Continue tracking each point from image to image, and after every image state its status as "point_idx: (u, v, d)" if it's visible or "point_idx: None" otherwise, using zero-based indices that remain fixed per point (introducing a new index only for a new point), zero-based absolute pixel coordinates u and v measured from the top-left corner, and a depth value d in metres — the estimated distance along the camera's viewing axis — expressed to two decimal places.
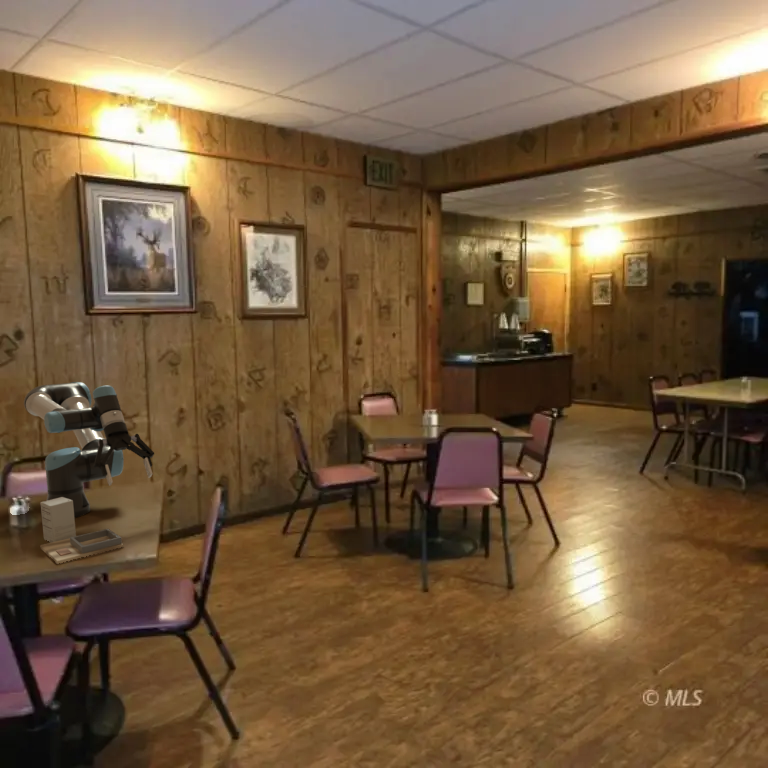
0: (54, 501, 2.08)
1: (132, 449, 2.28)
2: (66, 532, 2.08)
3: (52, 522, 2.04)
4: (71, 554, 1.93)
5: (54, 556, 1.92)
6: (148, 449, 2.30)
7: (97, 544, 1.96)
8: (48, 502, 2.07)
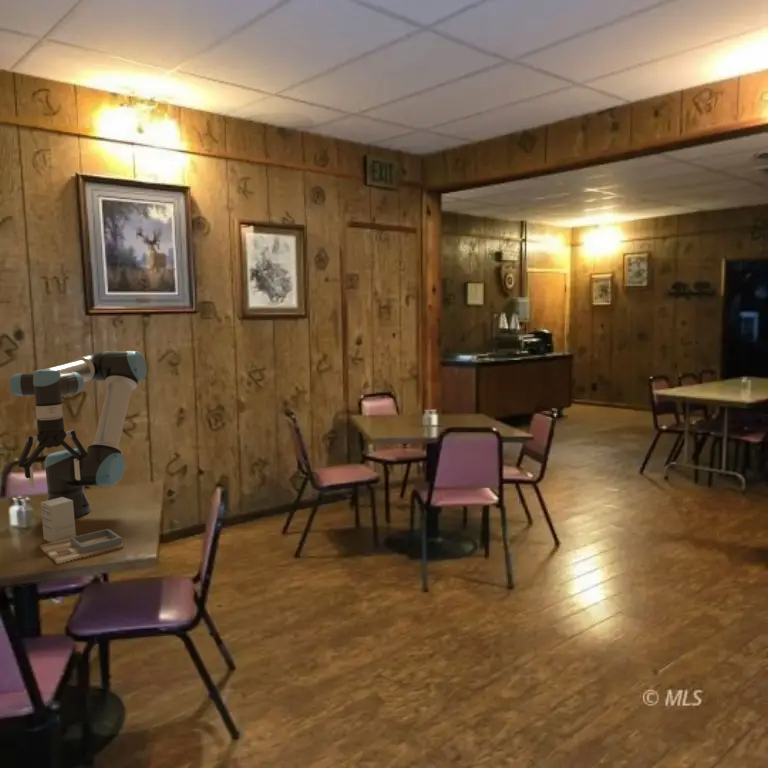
0: (54, 501, 2.08)
1: (64, 447, 2.09)
2: (66, 532, 2.08)
3: (52, 522, 2.04)
4: (71, 554, 1.93)
5: (54, 556, 1.92)
6: (82, 450, 2.12)
7: (97, 544, 1.96)
8: (48, 502, 2.07)
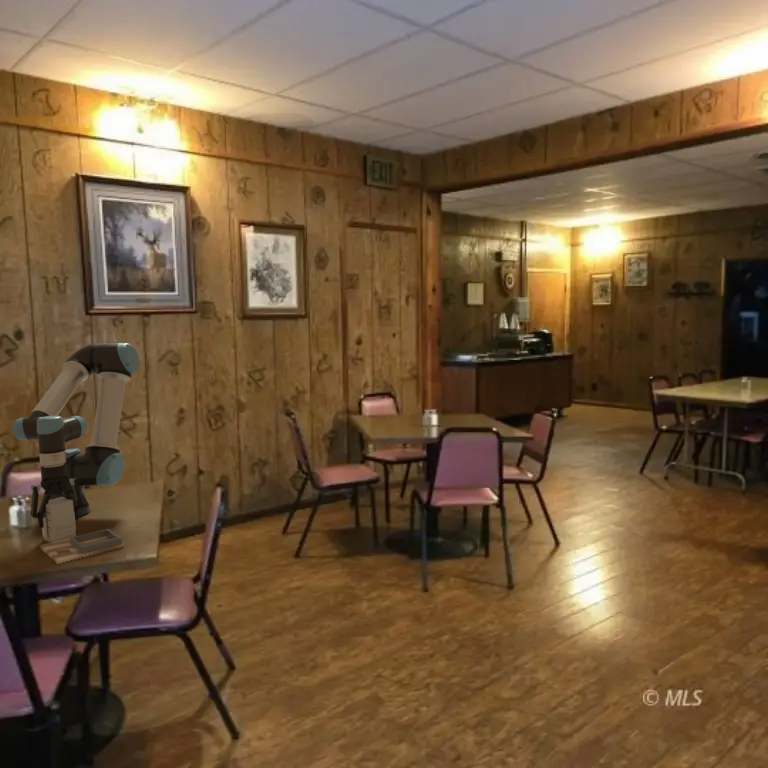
0: (54, 501, 2.08)
1: (64, 495, 2.10)
2: (66, 532, 2.08)
3: (52, 522, 2.04)
4: (71, 554, 1.93)
5: (54, 556, 1.92)
6: (79, 500, 2.12)
7: (97, 544, 1.96)
8: (48, 502, 2.07)
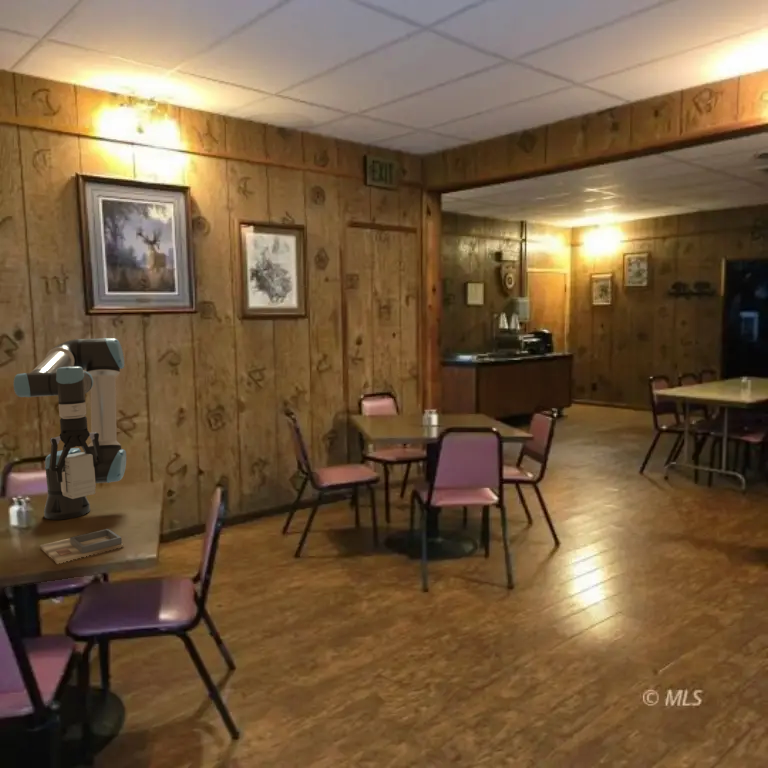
0: (73, 455, 2.00)
1: (84, 449, 2.02)
2: (85, 487, 1.99)
3: (71, 476, 1.96)
4: (71, 554, 1.93)
5: (54, 556, 1.92)
6: (99, 455, 2.04)
7: (97, 544, 1.96)
8: (67, 456, 1.99)
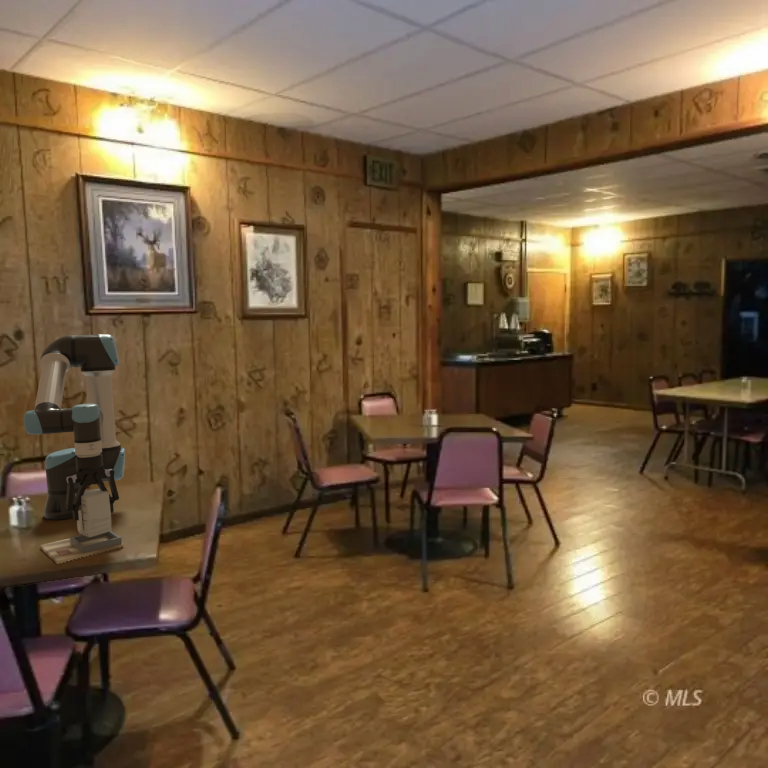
0: (89, 493, 1.99)
1: (99, 487, 2.01)
2: (102, 525, 1.99)
3: (88, 515, 1.95)
4: (71, 554, 1.93)
5: (54, 556, 1.92)
6: (115, 492, 2.03)
7: (97, 544, 1.96)
8: None
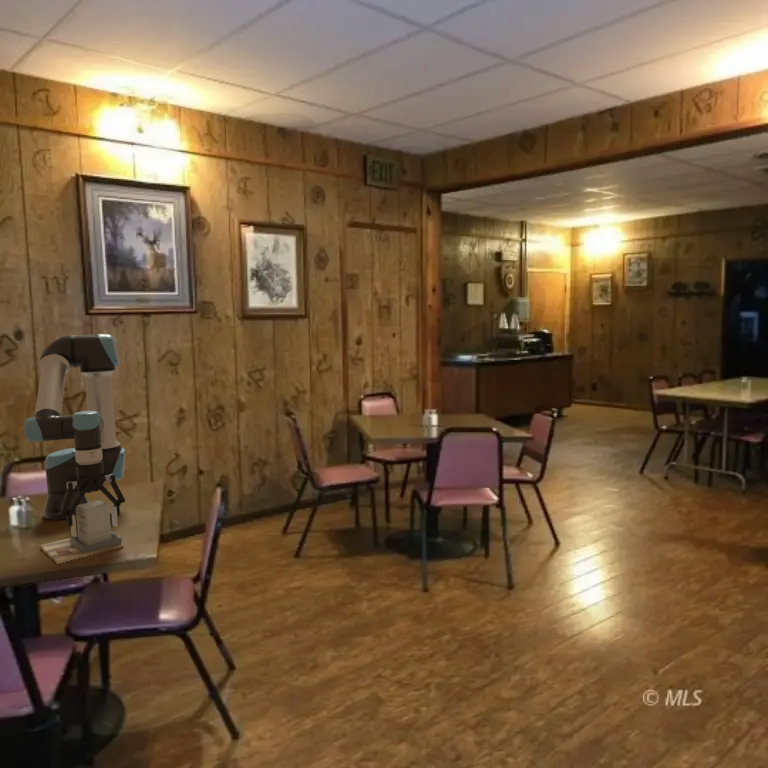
0: (89, 505, 1.99)
1: (103, 492, 2.02)
2: (102, 537, 1.99)
3: (88, 527, 1.96)
4: (71, 554, 1.93)
5: (54, 556, 1.92)
6: (120, 495, 2.04)
7: (97, 544, 1.96)
8: (83, 506, 1.99)
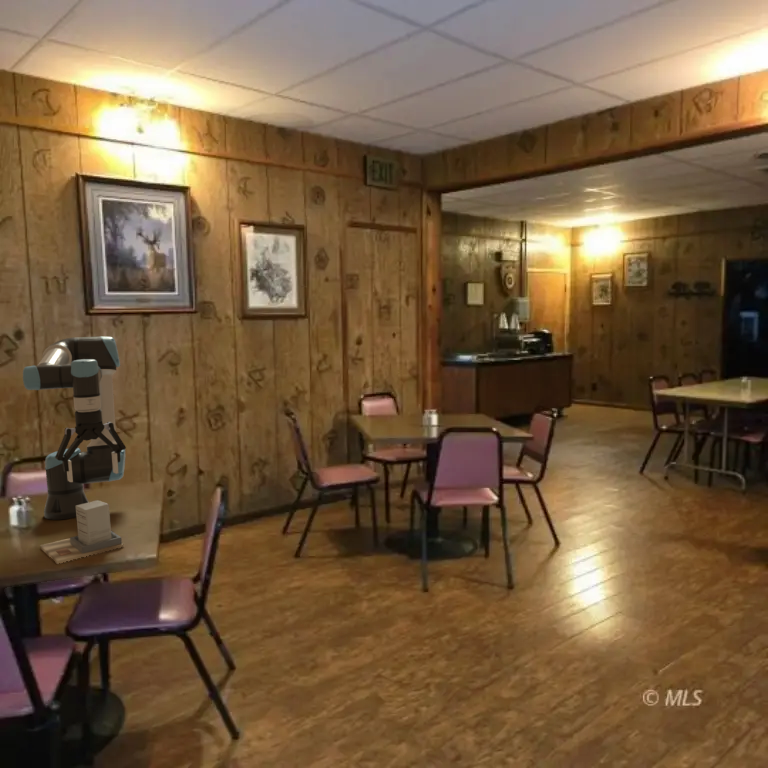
0: (89, 505, 1.99)
1: (102, 440, 2.03)
2: (102, 537, 1.99)
3: (88, 527, 1.96)
4: (71, 554, 1.93)
5: (54, 556, 1.92)
6: (120, 442, 2.06)
7: (97, 544, 1.96)
8: (83, 506, 1.99)
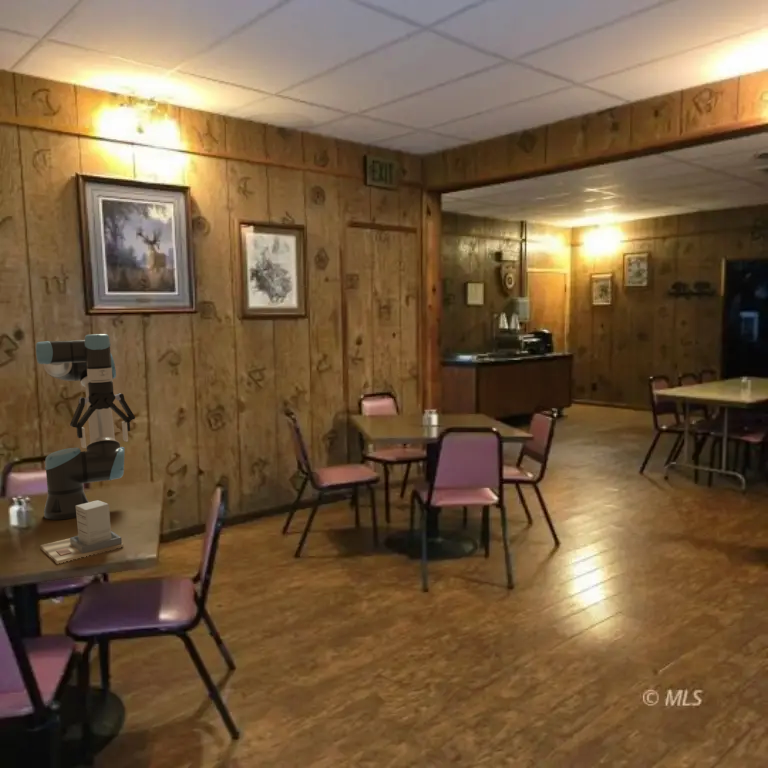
0: (89, 505, 1.99)
1: (113, 409, 2.18)
2: (102, 537, 1.99)
3: (88, 527, 1.96)
4: (71, 554, 1.93)
5: (54, 556, 1.92)
6: (130, 413, 2.20)
7: (97, 544, 1.96)
8: (83, 506, 1.99)
